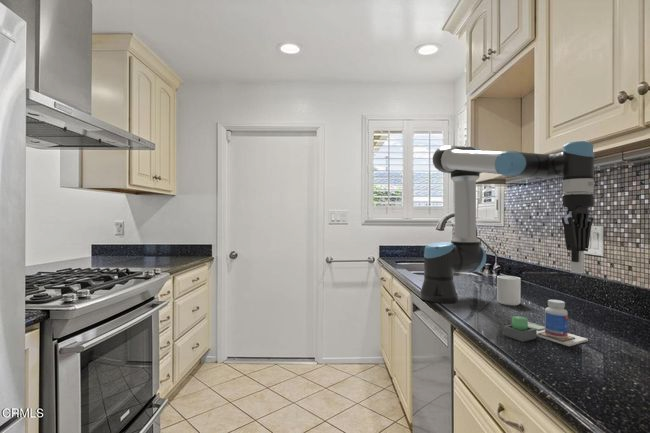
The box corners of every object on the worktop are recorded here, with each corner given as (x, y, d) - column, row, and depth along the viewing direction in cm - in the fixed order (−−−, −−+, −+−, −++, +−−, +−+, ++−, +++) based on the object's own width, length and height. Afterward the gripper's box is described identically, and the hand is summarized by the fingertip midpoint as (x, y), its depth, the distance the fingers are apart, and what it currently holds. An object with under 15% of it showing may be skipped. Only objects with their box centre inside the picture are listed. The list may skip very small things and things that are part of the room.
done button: (508, 329, 99) (508, 316, 99) (517, 327, 101) (517, 315, 101) (521, 333, 96) (521, 320, 96) (530, 331, 98) (530, 318, 98)
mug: (497, 297, 146) (497, 273, 146) (519, 299, 142) (519, 275, 142) (496, 304, 135) (497, 278, 135) (521, 306, 131) (521, 279, 131)
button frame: (503, 334, 100) (503, 326, 100) (516, 331, 103) (516, 323, 103) (522, 341, 95) (522, 332, 95) (536, 338, 97) (536, 329, 97)
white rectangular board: (510, 327, 107) (510, 324, 107) (528, 323, 111) (528, 321, 111) (569, 346, 91) (569, 343, 91) (588, 341, 95) (588, 338, 95)
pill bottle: (569, 340, 94) (569, 304, 94) (546, 337, 96) (546, 302, 96) (565, 333, 99) (565, 300, 99) (543, 331, 101) (543, 298, 101)
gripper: (579, 192, 96) (579, 276, 96) (603, 194, 102) (603, 273, 102) (551, 194, 103) (551, 272, 103) (576, 195, 109) (575, 269, 109)
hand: (577, 272), depth 102 cm, fingers closed
